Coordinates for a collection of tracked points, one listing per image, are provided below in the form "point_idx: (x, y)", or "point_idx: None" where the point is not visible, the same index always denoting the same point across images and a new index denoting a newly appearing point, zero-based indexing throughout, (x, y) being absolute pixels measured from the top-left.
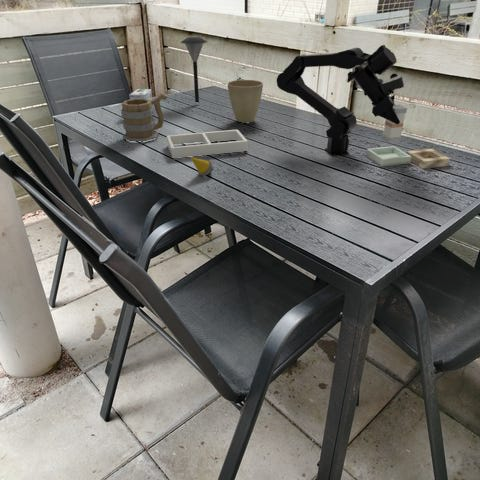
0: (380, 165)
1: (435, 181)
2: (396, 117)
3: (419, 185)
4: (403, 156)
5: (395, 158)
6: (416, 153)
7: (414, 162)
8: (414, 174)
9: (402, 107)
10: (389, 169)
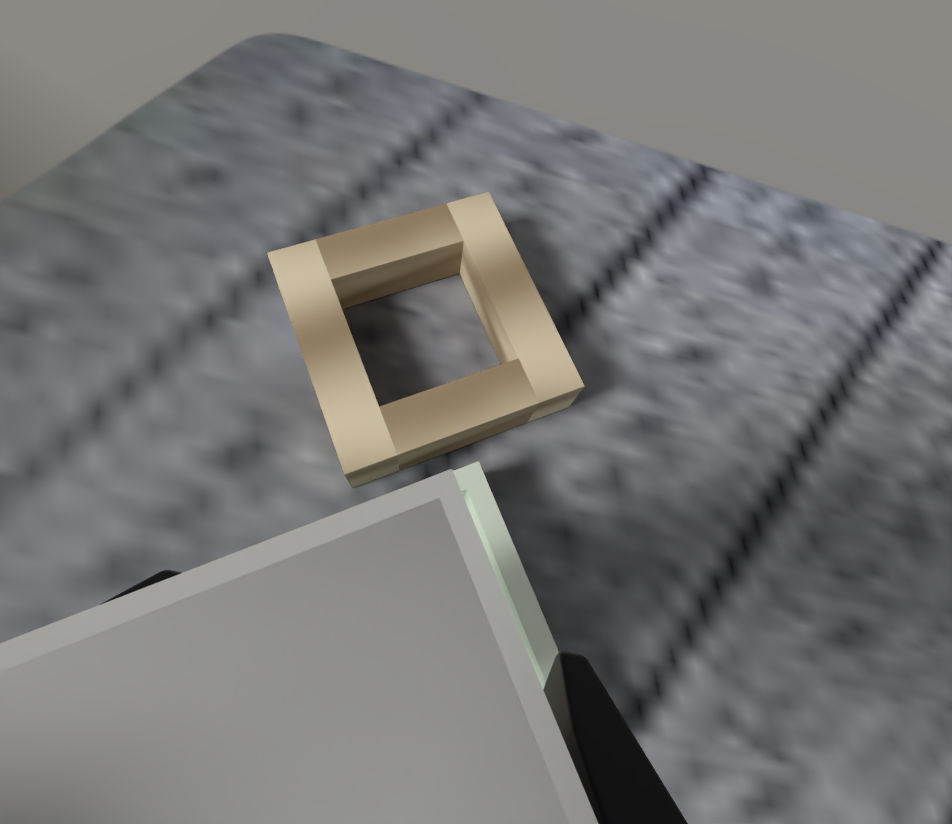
0: None
1: (779, 380)
2: (668, 808)
3: (880, 500)
4: (489, 534)
5: (543, 620)
6: (397, 401)
7: (472, 441)
8: (692, 490)
9: (374, 629)
10: (630, 677)
